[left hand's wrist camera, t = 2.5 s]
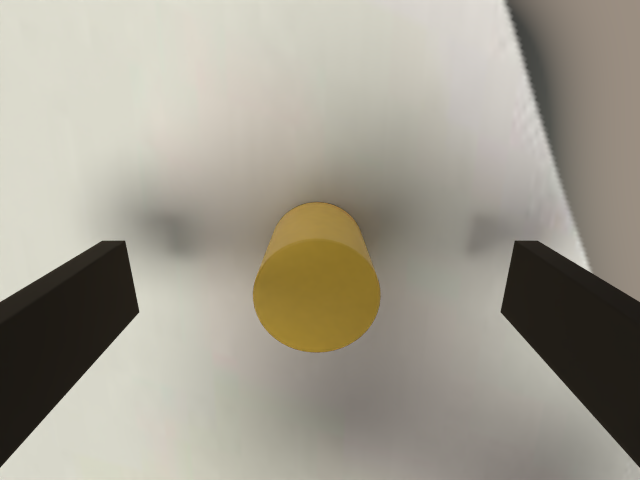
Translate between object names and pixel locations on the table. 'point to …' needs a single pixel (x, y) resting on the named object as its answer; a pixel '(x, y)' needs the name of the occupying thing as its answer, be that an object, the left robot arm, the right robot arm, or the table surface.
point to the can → (316, 280)
